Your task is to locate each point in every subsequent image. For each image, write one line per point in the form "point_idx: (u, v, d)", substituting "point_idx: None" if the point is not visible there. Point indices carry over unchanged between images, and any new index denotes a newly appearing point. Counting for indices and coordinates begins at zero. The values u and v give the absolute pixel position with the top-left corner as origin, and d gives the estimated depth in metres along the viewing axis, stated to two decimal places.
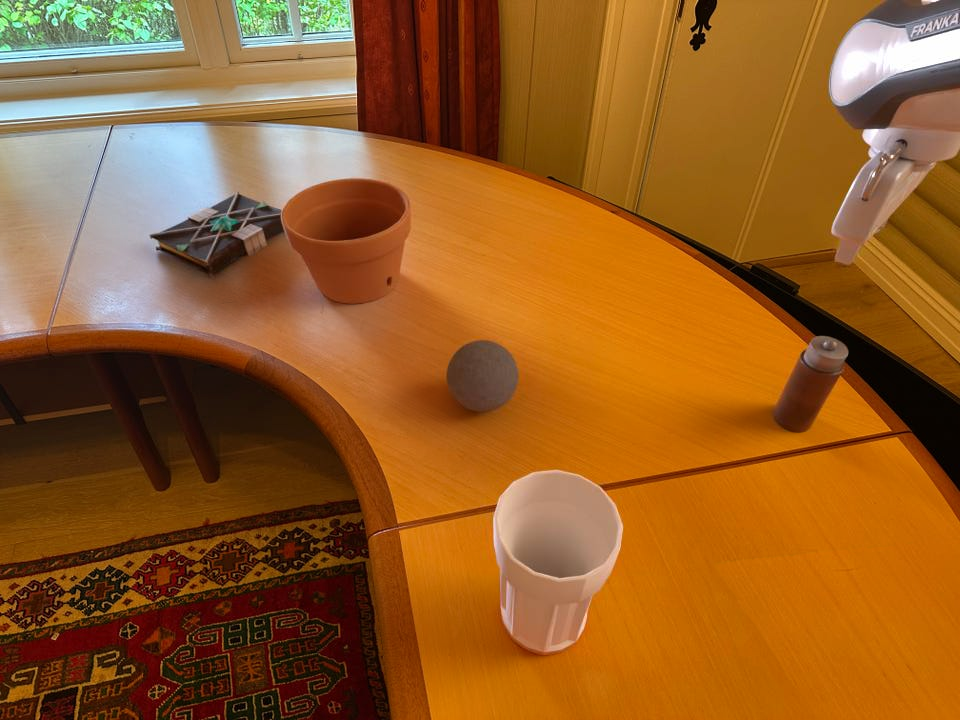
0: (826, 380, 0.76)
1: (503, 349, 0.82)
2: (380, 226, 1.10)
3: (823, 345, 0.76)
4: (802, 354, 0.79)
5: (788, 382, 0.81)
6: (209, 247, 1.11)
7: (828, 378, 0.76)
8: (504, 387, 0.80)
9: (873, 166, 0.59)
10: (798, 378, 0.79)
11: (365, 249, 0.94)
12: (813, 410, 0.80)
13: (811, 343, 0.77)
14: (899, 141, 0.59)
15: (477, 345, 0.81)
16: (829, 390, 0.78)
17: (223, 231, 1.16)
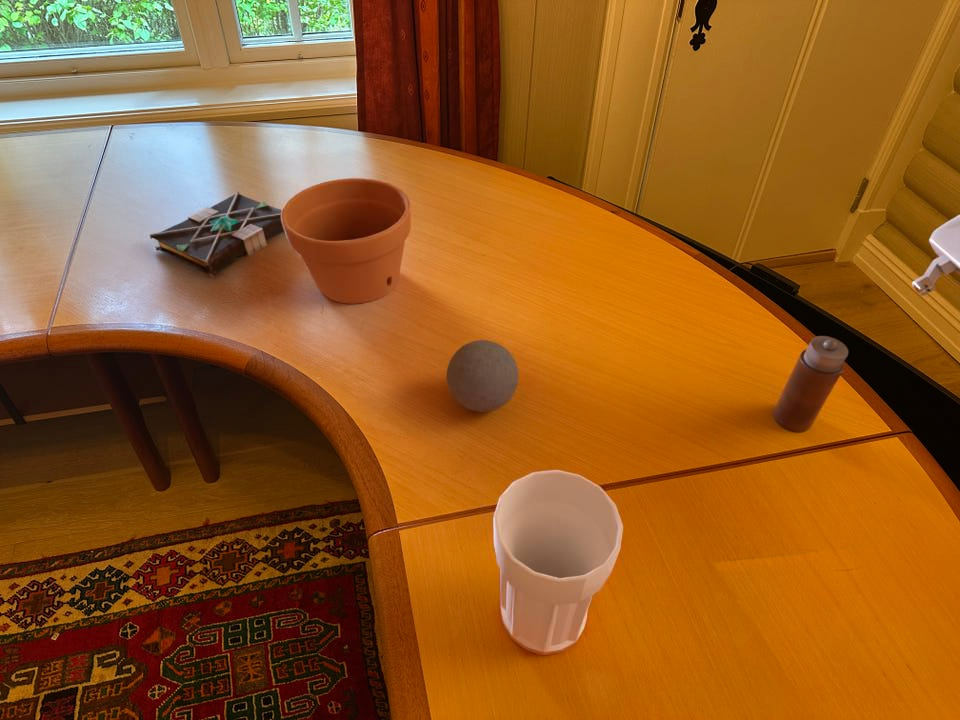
0: (826, 380, 0.76)
1: (503, 349, 0.82)
2: (380, 226, 1.10)
3: (823, 345, 0.76)
4: (802, 354, 0.79)
5: (788, 382, 0.81)
6: (209, 247, 1.11)
7: (828, 378, 0.76)
8: (504, 387, 0.80)
9: None
10: (798, 378, 0.79)
11: (365, 249, 0.94)
12: (813, 410, 0.80)
13: (811, 343, 0.77)
14: None
15: (477, 345, 0.81)
16: (829, 390, 0.78)
17: (223, 231, 1.16)
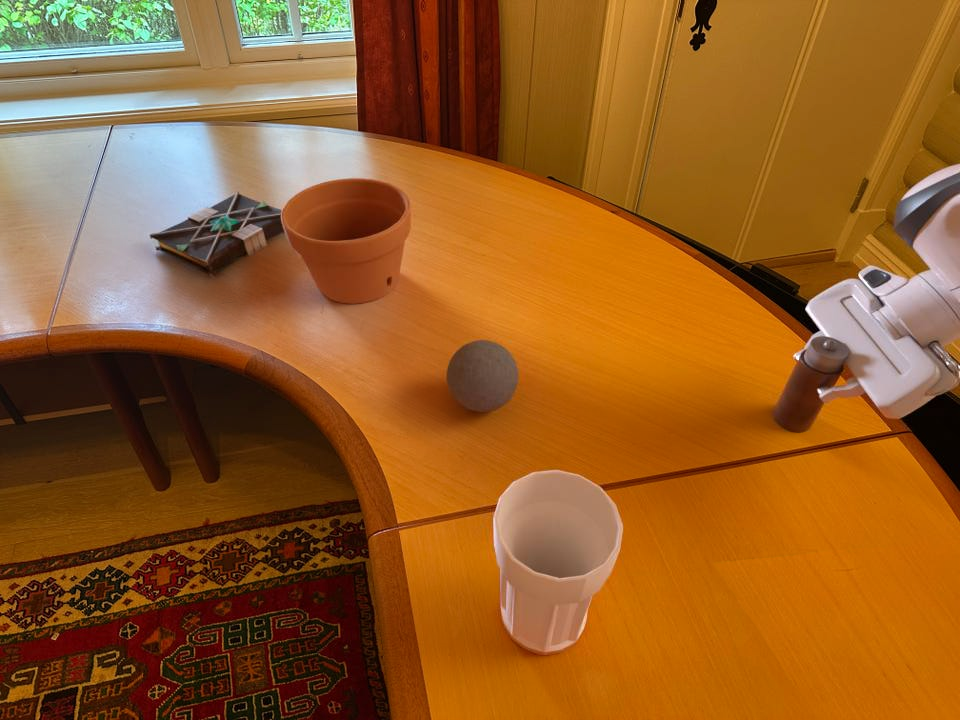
0: (826, 380, 0.76)
1: (503, 349, 0.82)
2: (380, 226, 1.10)
3: (823, 345, 0.76)
4: (802, 354, 0.79)
5: (788, 382, 0.81)
6: (209, 247, 1.11)
7: (828, 378, 0.76)
8: (504, 387, 0.80)
9: (937, 367, 0.68)
10: (798, 378, 0.79)
11: (365, 249, 0.94)
12: (813, 410, 0.80)
13: (811, 343, 0.77)
14: (939, 344, 0.70)
15: (477, 345, 0.81)
16: None
17: (223, 231, 1.16)
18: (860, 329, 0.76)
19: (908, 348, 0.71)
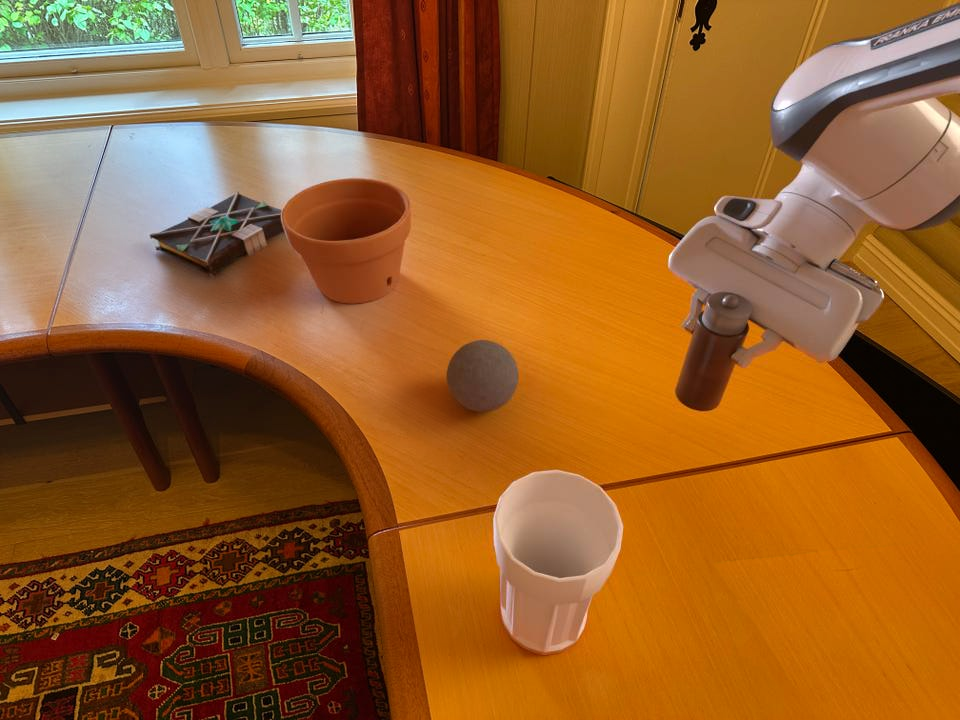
0: (739, 343, 0.63)
1: (503, 349, 0.82)
2: (380, 226, 1.10)
3: (724, 304, 0.62)
4: (700, 322, 0.64)
5: (691, 359, 0.66)
6: (209, 247, 1.11)
7: (741, 340, 0.62)
8: (504, 387, 0.80)
9: None
10: (707, 351, 0.64)
11: (365, 249, 0.94)
12: (727, 380, 0.67)
13: (711, 307, 0.62)
14: None
15: (477, 345, 0.81)
16: None
17: (223, 231, 1.16)
18: (747, 272, 0.64)
19: (815, 277, 0.60)
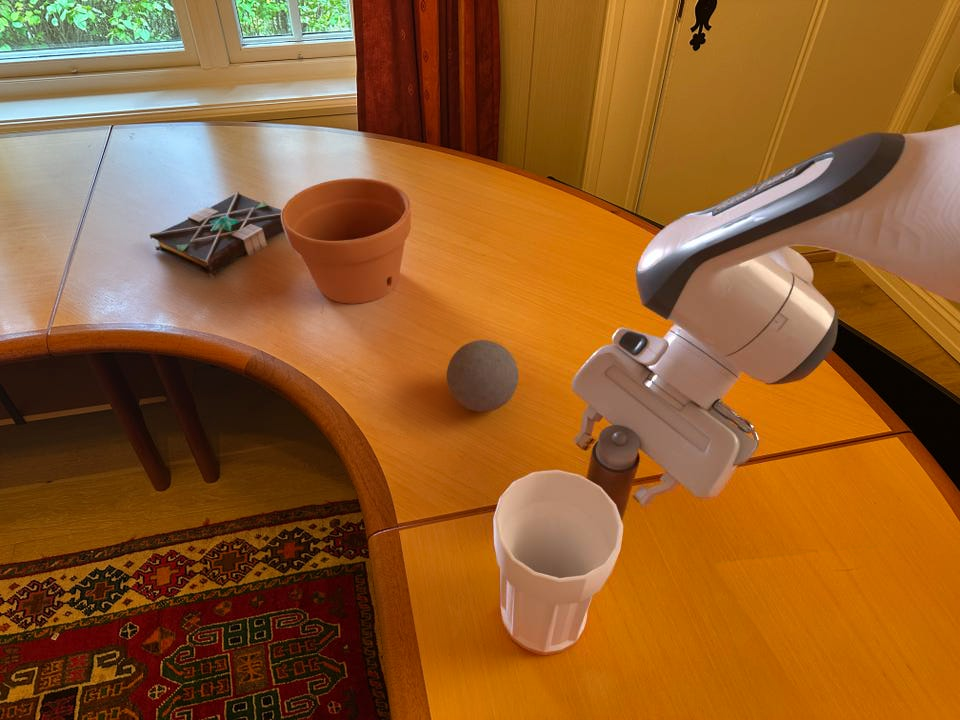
0: (629, 476, 0.65)
1: (503, 349, 0.82)
2: (380, 226, 1.10)
3: (613, 441, 0.64)
4: (594, 454, 0.66)
5: None
6: (209, 247, 1.11)
7: (631, 473, 0.65)
8: (504, 387, 0.80)
9: (733, 432, 0.61)
10: (600, 481, 0.67)
11: (365, 249, 0.94)
12: (624, 504, 0.69)
13: (600, 443, 0.64)
14: (722, 402, 0.63)
15: (477, 345, 0.81)
16: (633, 480, 0.67)
17: (223, 231, 1.16)
18: (639, 405, 0.66)
19: (697, 418, 0.62)
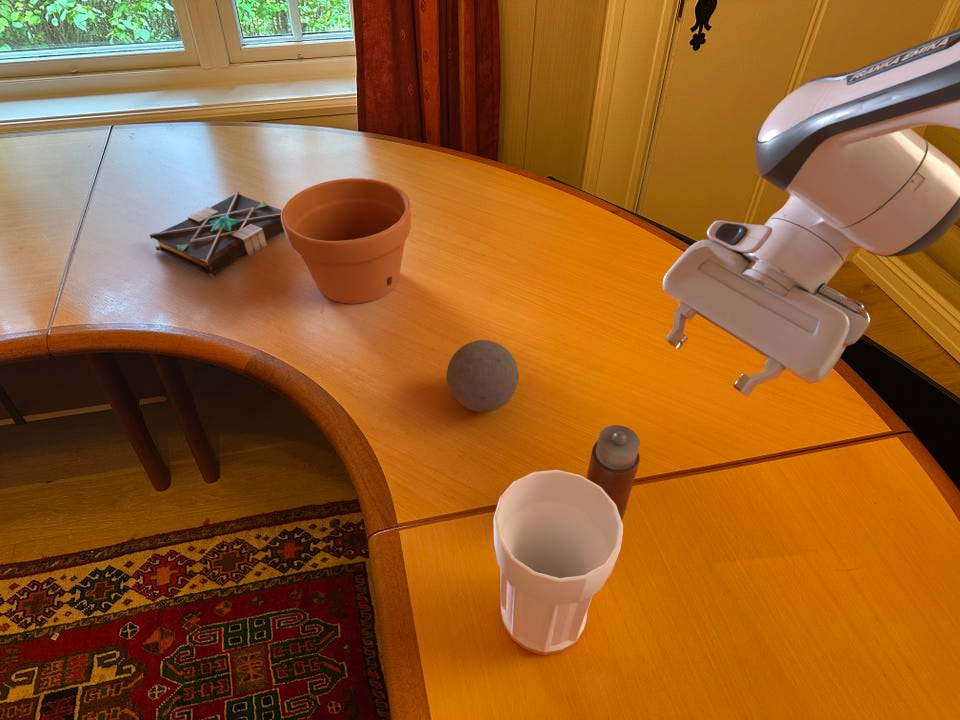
0: (629, 476, 0.65)
1: (503, 349, 0.82)
2: (380, 226, 1.10)
3: (613, 441, 0.64)
4: (594, 454, 0.66)
5: None
6: (209, 247, 1.11)
7: (631, 473, 0.65)
8: (504, 387, 0.80)
9: None
10: (600, 481, 0.67)
11: (365, 249, 0.94)
12: (624, 504, 0.69)
13: (600, 443, 0.64)
14: (827, 286, 0.62)
15: (477, 345, 0.81)
16: (633, 480, 0.67)
17: (223, 231, 1.16)
18: (738, 295, 0.65)
19: (803, 301, 0.62)
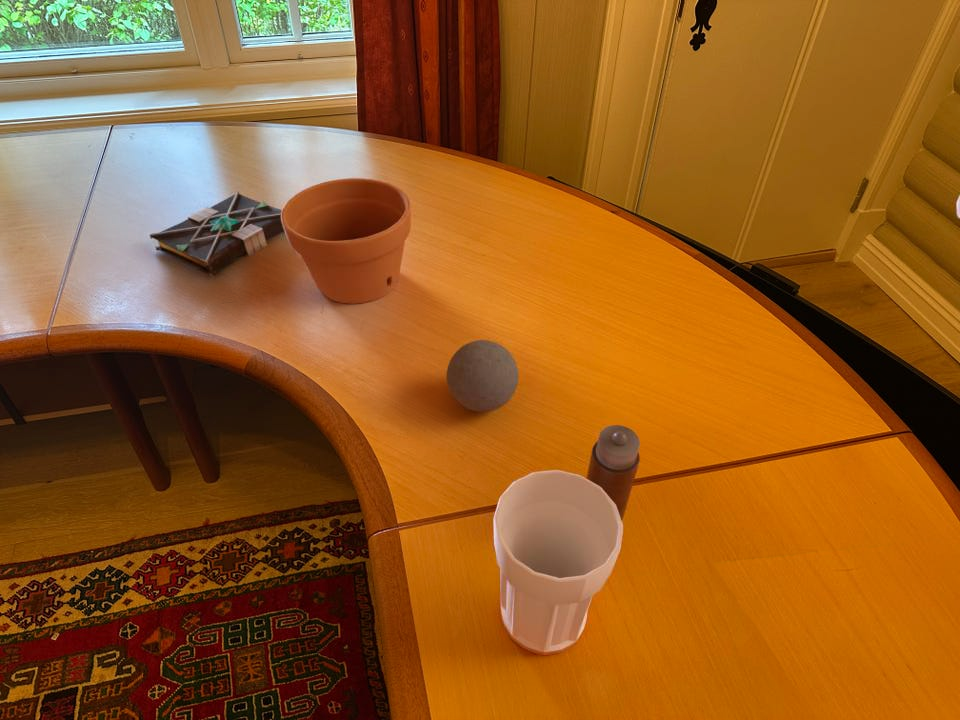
0: (629, 476, 0.65)
1: (503, 349, 0.82)
2: (380, 226, 1.10)
3: (613, 441, 0.64)
4: (594, 454, 0.66)
5: None
6: (209, 247, 1.11)
7: (631, 473, 0.65)
8: (504, 387, 0.80)
9: None
10: (600, 481, 0.67)
11: (365, 249, 0.94)
12: (624, 504, 0.69)
13: (600, 443, 0.64)
14: None
15: (477, 345, 0.81)
16: (633, 480, 0.67)
17: (223, 231, 1.16)
18: None
19: None
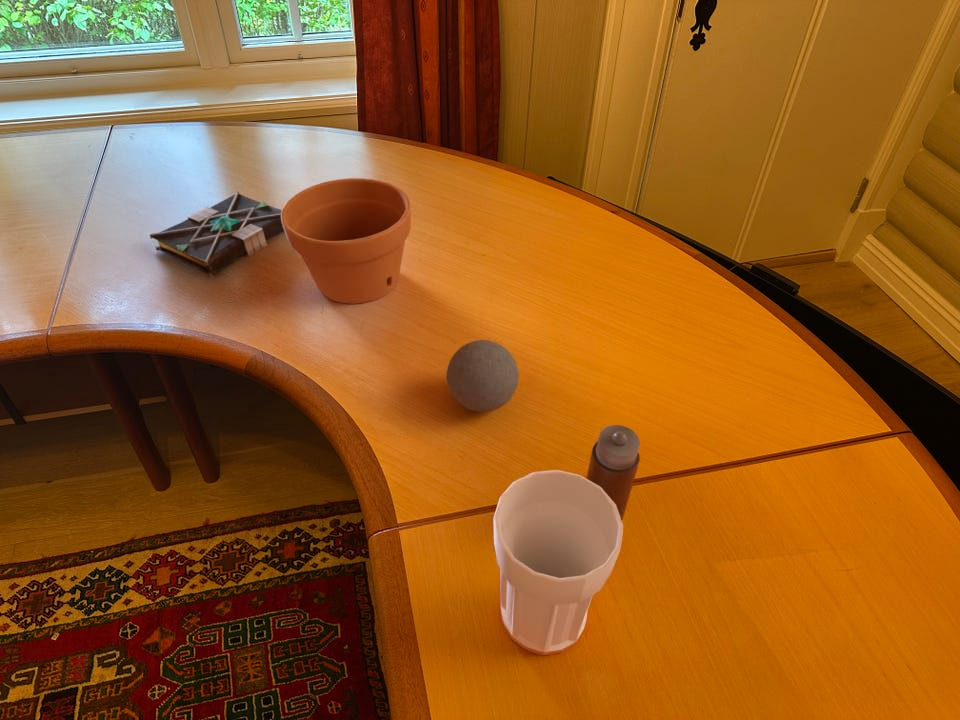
0: (629, 476, 0.65)
1: (503, 349, 0.82)
2: (380, 226, 1.10)
3: (613, 441, 0.64)
4: (594, 454, 0.66)
5: None
6: (209, 247, 1.11)
7: (631, 473, 0.65)
8: (504, 387, 0.80)
9: None
10: (600, 481, 0.67)
11: (365, 249, 0.94)
12: (624, 504, 0.69)
13: (600, 443, 0.64)
14: None
15: (477, 345, 0.81)
16: (633, 480, 0.67)
17: (223, 231, 1.16)
18: None
19: None
